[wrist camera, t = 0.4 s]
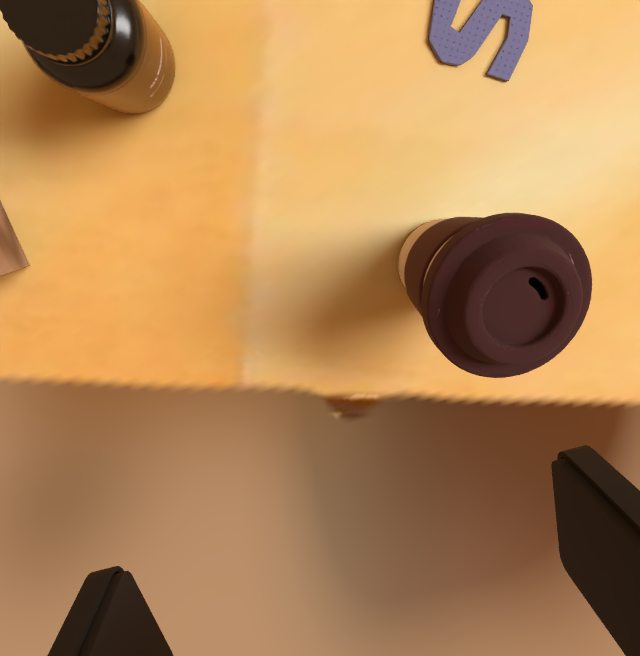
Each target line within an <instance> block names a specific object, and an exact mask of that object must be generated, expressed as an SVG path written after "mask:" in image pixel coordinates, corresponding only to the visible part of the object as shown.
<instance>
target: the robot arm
mask: <svg viewBox="0 0 640 656" xmlns="http://www.w3.org/2000/svg"><path fill="white" fill-rule="evenodd" d="M552 477H553V486H554V487H553V488H554V497H555V509H556V519H557V531H558V541H559V552H560V558H561V561H562V563H563V566H564V568H565V570H566V571H567V573H568V575H569V576H570V577H571V579H572V580H573V582H574V583H575V584H576V586H577V587H578V589H579V590H580V591H581V593H582V594H583V596H584V597H585V599H586V600H587V601H588V603H589V604H590V606H591V607H592V609H593V610H594V611H595V613H596V614H597V616H598V617H599V618H600V620H601V621H602V623H603V624H604V625H605V627H606V628H607V630H608V631H609V632H610V634H611V635H612V637H613V638H614V640H615V641H616V642H617V644H618V645H619V647H620V648H621V649H622V651H623V652H624V654H625V655H626V656H640V491H639V490H638V489H637V488H636V487H635V486H634V485H633V484H631V483H630V482H629V481H628V480H627V479H626V478H625V477H624V476H623V475H621V474H620V473H619V472H618V471H617V470H616V469H615V468H614V467H612V466H611V465H610V464H609V463H608V462H607V461H606V460H605V459H603V458H602V457H601V456H600V455H599V454H598V453H597V452H596V451H594V450H593V449H592V448H591V447H589V446H586V445H585V446H582V447H577V448H573V449H569V450H566V451H562V452H559V454H558V460H556V461H553V462H552ZM48 656H173V654H172V651H171V650H170V647H169V645H168V644H167V642H166V640H165V638H164V636H163V634H162V632H161V630H160V628H159V626H158V624H157V622H156V620H155V618H154V617H153V615H152V613H151V611H150V609H149V607H148V605H147V603H146V601H145V599H144V597H143V595H142V594H141V591H140V590H139V588H138V586H137V584H136V582H135V580H134V578H133V576H132V574H131V573H130V572H129V571H124V570H123V569H122V568H121V567H119V566H116V567H111V568H108V569H104V570H100V571H96V572H92V573H90V574H89V575H88V576H87V578H86V579H85V581H84V583H83V585H82V587H81V589H80V591H79V593H78V595H77V597H76V600H75V601H74V603H73V605H72V607H71V609H70V611H69V613H68V615H67V617H66V619H65V621H64V624H63V626H62V627H61V629H60V632H59V634H58V636H57V638H56V640H55V642H54V644H53V646H52V648H51V650H50V652H49V654H48Z"/></svg>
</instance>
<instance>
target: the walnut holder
mask: <svg viewBox="0 0 640 656" xmlns="http://www.w3.org/2000/svg"><path fill="white" fill-rule="evenodd" d="M27 266H30V265H29V263H28V261H27V258H26V256H25V254H24V252H23V250H22V247H21V245H20V243H19V241H18V239H17V237H16V234H15V232H14V230H13V228H12V226H11V223H10V221H9V219H8V217H7V215H6V213H5V210H4V208H3V206H2V204H1V202H0V276H1V275H4V274H7V273H10V272H12V271H15V270H18V269H21V268H24V267H27Z"/></svg>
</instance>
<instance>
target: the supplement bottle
mask: <svg viewBox="0 0 640 656" xmlns="http://www.w3.org/2000/svg"><path fill="white" fill-rule="evenodd" d="M0 10H1V12H2V14H3V19H4V20H5V21H6V22H7V23H8V26H9V28H10V30H11V31H13V32H14V33H15V35H16V36H17V38H18V39H19V40H21V41H22V43H23V45H24V47H25V49H26V51H27V52H28V54H29V56H30V57H31V59H32V60H33V61H34V63H35V64H36V65H37V66H38V68H39V69H40V70H41V71H42V72H43V73H44V74H45V75H47V76H48V77H49V78H50V79H52V80H53V81H55V82H56V83H58V84H59V85H61V86H63V87H65V88H66V89H68V90H71V91H73V92H75V93H77V94H80V95H82V96H84V97H86V98H89V99H91V100H93V101H95V102H98V103H100V104H102V105H104V106H106V107H109V108H111V109H114V110H116V111H120V112H124V113H131V114H136V113H143V112H147V111H149V110H152V109H153V108H155V107H157V106H158V105H159V104H160V103H162V102H163V101H164V99H165V98H166V97H167V95H168V94H169V92H170V90H171V88H172V85H173V82H174V77H175V59H174V54H173V50H172V47H171V45H170V42H169V40H168V38H167V36H166V35H165V33H164V32H163V30H162V29H161V27H160V26H159V25H158V23H157V22H156V21H155V19H154V18H153V17H152V16H151V14H150V13H149V12H148V10H147V9H146V8H145V7H144V5H143V4H142V3H141V1H140V0H0Z"/></svg>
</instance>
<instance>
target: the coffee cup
mask: <svg viewBox="0 0 640 656" xmlns="http://www.w3.org/2000/svg"><path fill="white" fill-rule="evenodd" d="M398 269H399V275H400V279H401V281H402V283H403V285H404V287H405V288H406V290H407V293H408V295H409V297H410V299H411V301H412V303H413V304H414V306H415V307H416V308H417V310H418V311H419V313H420V314H421V316H422V317H423V321H424V324H425V327H426V330H427V332H428V334H429V336H430V338H431V340H432V341H433V343H434V344H435V345H436V347H437V348H438V349H439V350H440V351H441V352H442V353H443V354H444V356H445V357H446V358H447V359H448V360H450V361H451V362H452V363H453V364H455V365H456V366H457V367H459V368H461V369H463V370H465V371H467V372H469V373H472V374H475V375H478V376H484V377H492V378H503V377H510V376H515V375H520V374H524V373H527V372H529V371H531V370H534V369H536V368H538V367H540V366H542V365H544V364H545V363H547V362H548V361H550V360H551V359H553V358H554V357H555V356H556V355H557V354H559V353H560V352H561V351H562V350H563V349H564V348H565V347H566V346H567V345H568V343H569V342H570V341H571V340H572V339H573V337H574V336H575V335H576V333H577V331H578V330H579V328H580V327H581V325H582V323H583V321H584V318H585V316H586V313H587V311H588V308H589V304H590V300H591V292H592V276H591V269H590V264H589V261H588V258H587V256H586V254H585V252H584V249H583V248H582V246H581V245H580V243H579V242H578V240H577V239H576V238H575V237H574V235H573V234H572V233H571V232H569V231H568V230H567V229H566V228H564V227H563V226H561V225H560V224H558V223H556V222H554V221H552V220H550V219H547V218H544V217H540V216H535V215H529V214H523V213H503V214H496V215H492V216H488V217H485V218H477V217H455V218H450V219H437V220H433V221H430V222H427V223H425V224H423V225H421V226H420V227H418V228H417V229H416V230H415V231H413V232H412V233H411V234H410V236H409V237H408V238H407V239H406V241H405V243H404V245H403V246H402V249H401V252H400V255H399V262H398Z"/></svg>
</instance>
